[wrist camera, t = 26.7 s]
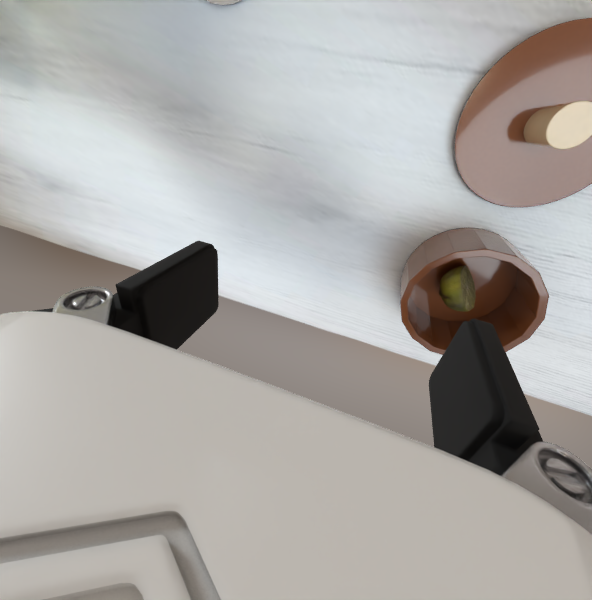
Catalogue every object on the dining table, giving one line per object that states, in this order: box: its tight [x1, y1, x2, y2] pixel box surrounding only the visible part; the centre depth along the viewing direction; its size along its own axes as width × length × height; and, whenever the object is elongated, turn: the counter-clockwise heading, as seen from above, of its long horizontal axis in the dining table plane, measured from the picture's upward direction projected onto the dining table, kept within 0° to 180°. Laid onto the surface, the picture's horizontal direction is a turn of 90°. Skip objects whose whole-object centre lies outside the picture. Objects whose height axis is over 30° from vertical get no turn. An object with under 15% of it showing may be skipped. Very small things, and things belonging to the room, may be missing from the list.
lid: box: [454, 18, 592, 207], centre depth 23 cm, size 14×14×6 cm
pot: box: [400, 228, 549, 355], centre depth 31 cm, size 13×13×7 cm
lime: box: [439, 265, 476, 312], centre depth 32 cm, size 4×5×5 cm
